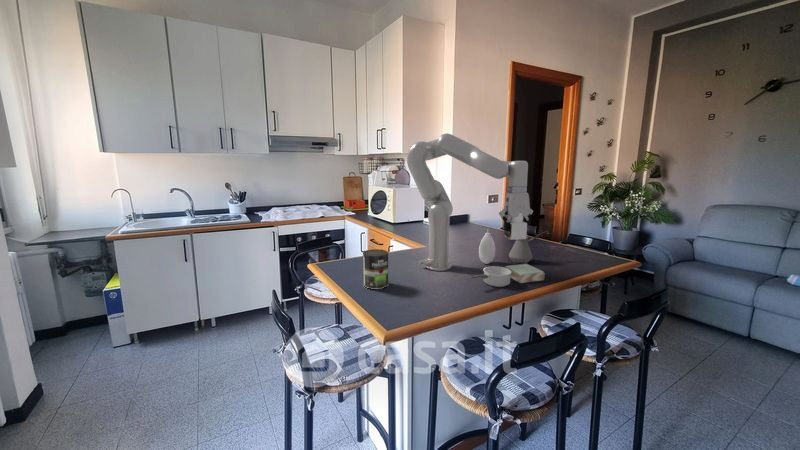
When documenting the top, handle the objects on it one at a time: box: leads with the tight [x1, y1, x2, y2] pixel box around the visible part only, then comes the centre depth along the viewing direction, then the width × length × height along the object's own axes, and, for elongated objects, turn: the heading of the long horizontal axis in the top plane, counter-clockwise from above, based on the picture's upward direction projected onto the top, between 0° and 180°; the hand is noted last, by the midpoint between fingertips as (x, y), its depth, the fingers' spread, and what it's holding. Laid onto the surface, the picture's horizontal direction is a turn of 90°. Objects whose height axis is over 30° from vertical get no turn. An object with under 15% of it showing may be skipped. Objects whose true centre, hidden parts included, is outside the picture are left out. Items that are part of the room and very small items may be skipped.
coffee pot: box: [508, 230, 550, 264], centre depth 169 cm, size 21×12×15 cm, turn 106°
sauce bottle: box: [478, 230, 496, 265], centre depth 164 cm, size 8×8×18 cm
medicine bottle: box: [503, 213, 528, 241], centre depth 145 cm, size 7×7×12 cm
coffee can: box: [362, 248, 389, 289], centre depth 136 cm, size 10×10×14 cm
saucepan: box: [469, 265, 512, 288], centre depth 136 cm, size 12×20×6 cm, turn 120°
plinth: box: [504, 263, 546, 284], centre depth 146 cm, size 12×12×4 cm
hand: (515, 229), depth 146 cm, fingers closed on medicine bottle, 8 cm apart
